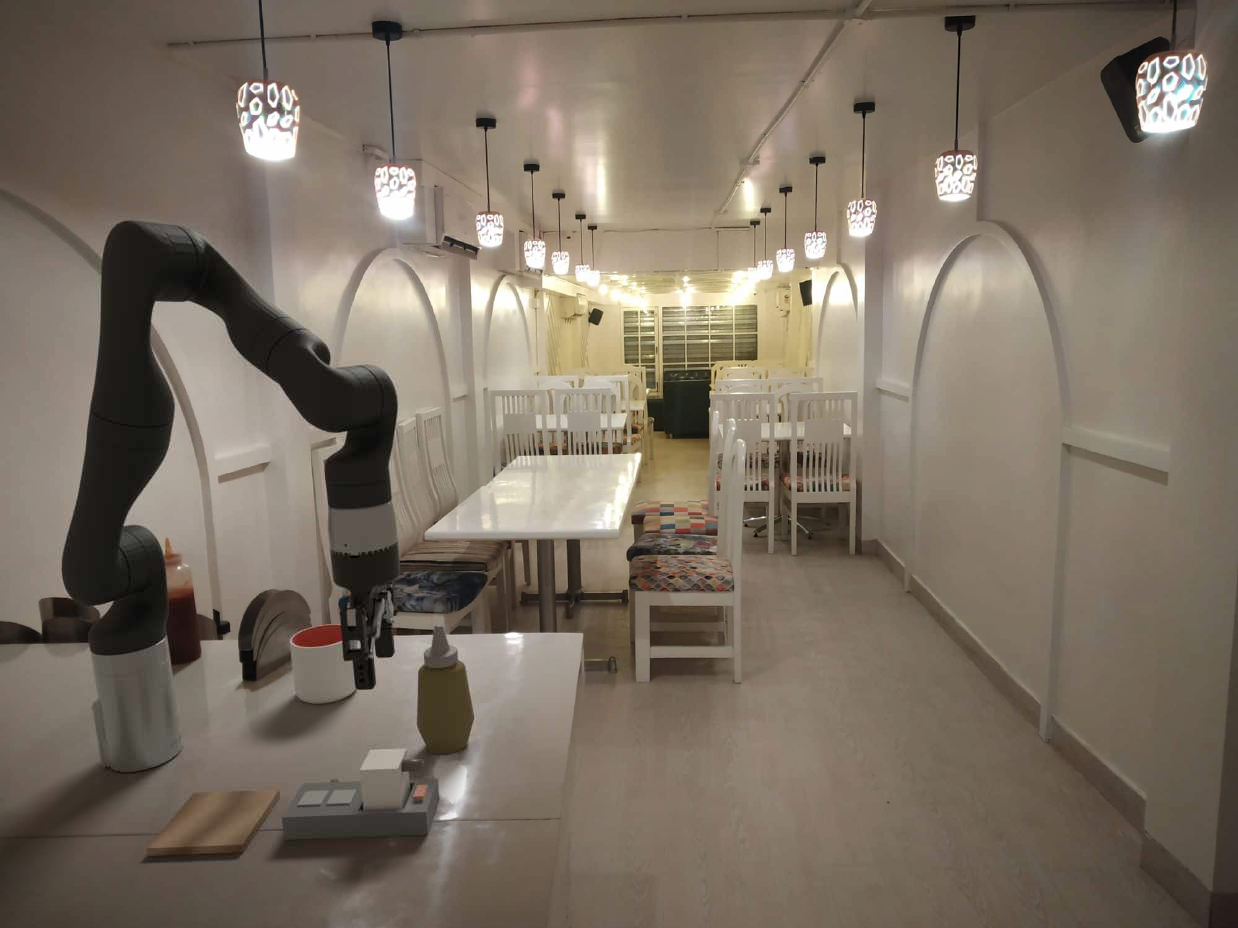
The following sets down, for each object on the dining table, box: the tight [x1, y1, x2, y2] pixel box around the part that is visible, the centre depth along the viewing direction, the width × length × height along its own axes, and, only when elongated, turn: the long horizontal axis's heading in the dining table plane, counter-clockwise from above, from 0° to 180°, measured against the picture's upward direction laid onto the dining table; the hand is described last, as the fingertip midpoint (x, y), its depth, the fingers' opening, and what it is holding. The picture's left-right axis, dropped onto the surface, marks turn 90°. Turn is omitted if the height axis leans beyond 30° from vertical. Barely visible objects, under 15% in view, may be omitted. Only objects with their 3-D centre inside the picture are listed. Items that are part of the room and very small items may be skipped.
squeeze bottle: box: [416, 624, 475, 755], centre depth 116 cm, size 8×8×18 cm
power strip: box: [281, 777, 440, 841], centre depth 102 cm, size 17×11×4 cm, turn 91°
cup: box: [289, 623, 357, 705], centre depth 134 cm, size 10×10×10 cm
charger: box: [359, 748, 425, 810], centre depth 100 cm, size 7×4×7 cm, turn 91°
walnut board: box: [146, 789, 281, 857], centre depth 100 cm, size 11×11×1 cm
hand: (376, 671), depth 97 cm, fingers open, 8 cm apart
